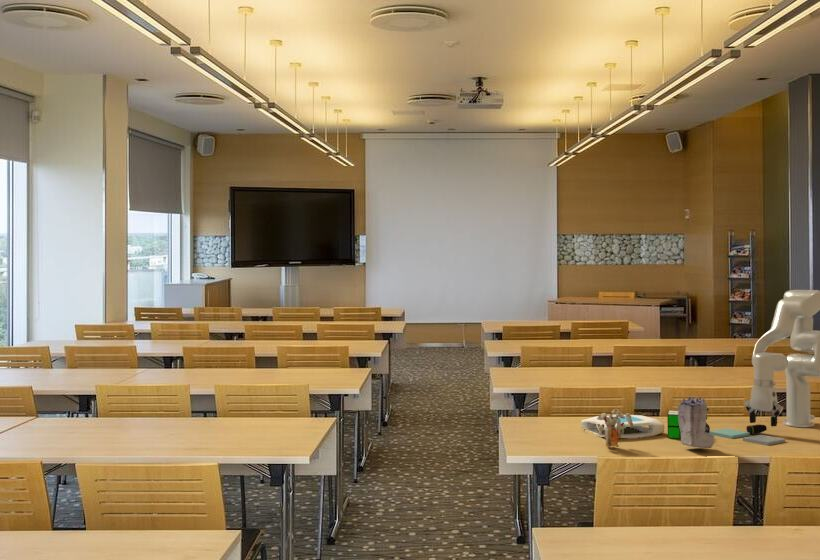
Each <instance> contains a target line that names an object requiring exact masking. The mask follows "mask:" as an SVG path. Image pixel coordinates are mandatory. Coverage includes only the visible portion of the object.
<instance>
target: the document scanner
mask: <svg viewBox="0 0 820 560" xmlns="http://www.w3.org/2000/svg"><path fill="white" fill-rule="evenodd" d="M612 415H613V417H616V415H617V414H612ZM623 415H624V416H625V419H622V418H620V417H618V418H620V420H621V423H623V422H624V424H625V427H630V428H629V429H631V428H634V429H633V430H635V429H637V430H636V431H638V430H639V432H637V433H636V432H635V433H624V434H621V438H628V439H639V438H638V437H640V438H646V437H647V438H648V437H655V436H657V435H659V434H660V435H661V434H662V433H664V432H665V424H664V423H663V422H661V421H660V420H659V419H656V418H653V417H649V416H645V415H641V414H640V415H639V414H630V415H631V419H632V423H633V426H630V424H628V422H627V420H626V414H623ZM598 416H599V415H597V416H592V417H590V418H585V419H582V420H581V422H580V423H581V424H580V425H581V429H582V428H583V429H585V430H589V431H590V432H593V433H594V434H596V435H599V434H598V428H597V427H598V424H600V425H602V424H604V429H606V424H605V420H598V419H597V418H598ZM607 417H608V418H610V417H609V414H607ZM645 426H648V427H645ZM615 428H616V429H617V423H616V425H615ZM583 429H582V430H583ZM604 429H603V430H604ZM599 436H601V437H605V435H599ZM604 439H606V437H605V438H604Z"/></svg>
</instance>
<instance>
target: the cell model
mask: <svg viewBox="0 0 820 560" xmlns="http://www.w3.org/2000/svg"><path fill="white" fill-rule="evenodd" d="M705 399H706V398H705V397H701V396H699V397H696V398H695V397H693V396H691V397H690V396H689V397H688V398H687V399H685V397H682V401H681V402H680V403H679V402H678V405H677V408H678V410H677V411H678V422H679V428H680V432H681V438H680V442H681V443H680V444H682V445H684V446H687V447H692V448H700V449H701V448H702V449H711V448H712V447H713V446H714V442H715V435H712V434H709V432H710V431H711V430H710V429H711V427H710V425H709V424H708V423H707V419H708V417H707V413H708V412H709V407H708V405H707V403H706V402H705V401H706V400H705Z"/></svg>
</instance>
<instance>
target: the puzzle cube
mask: <svg viewBox="0 0 820 560" xmlns="http://www.w3.org/2000/svg"><path fill="white" fill-rule="evenodd" d="M667 411H668V412H667V438H668V439H675V440H681V432H680V428H679V422H678V410H667Z"/></svg>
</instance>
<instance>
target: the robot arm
mask: <svg viewBox="0 0 820 560" xmlns="http://www.w3.org/2000/svg"><path fill="white" fill-rule="evenodd" d="M819 311H820V290H818V289H790V290H787V291H785V292H784V294H783V298H782V299H780V300H778V302H777V304H776V306H775V311H774V315H773V319H772V321H771V325H770V326H771V327H770V329H769V330H768V331H767V332H765V333H764V334H763V335H762V336H761V337H760V338H759V339H758V340H757V341H756V343H755V345H754V349H753V350H752V351H753V352H752V355H751V365H752V366H753V385H752V387H751V391H750V392H751V393H750V399H748V400H746V401H744V406H745V409H746V410H747V412H748V414H749V423H750V424H755V423H756V420H757V419H756V417H757V414H756V411H762V412H766V413H767V412H768V413H770V415H771V416H770V427H777V426H778V417H779V416H780V415H781V414H782V412H783V411H784V406H782V405H781V404H779V402H778V395H777V391H776V387H775V386H776V384H777V383H776V382H775V381H774V372H783V371H784V372H785V379H786V380H785V381H786V384H785V385H786V420H783V421H782V424H783V425H785V426H788V427H793V428H813V427H815V423H814V422H812V420H815V418H816V416H815V415H814V414H811V385H810V382H809V380H808V379H807V377H811V378H820V330H813V328H814V318H813V316H814V315H816V314H817V313H818V312H819ZM789 337H790V341H789V342H790V343H789V345H790V348H791V349H792V350H794V351H799V352H809V353H813V354H807V353H806V354H805V353H790V354H788V355H784V354H783V353H778V352H777V353H776V352H767V349H768V347H770V346H771V345H772V344H774V343H776V342H779V341H782V340H784V339H787V338H789Z"/></svg>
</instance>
